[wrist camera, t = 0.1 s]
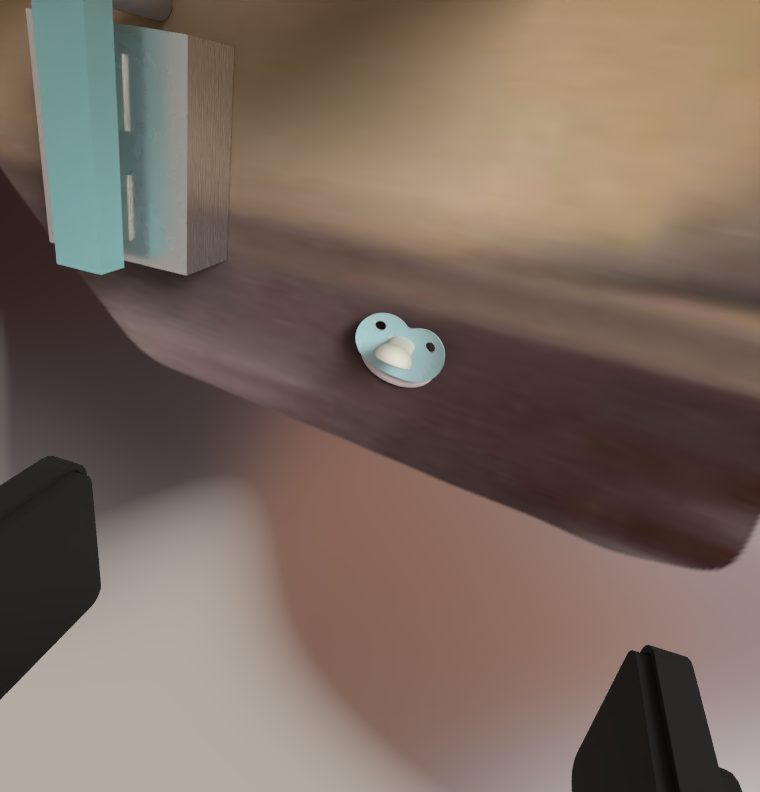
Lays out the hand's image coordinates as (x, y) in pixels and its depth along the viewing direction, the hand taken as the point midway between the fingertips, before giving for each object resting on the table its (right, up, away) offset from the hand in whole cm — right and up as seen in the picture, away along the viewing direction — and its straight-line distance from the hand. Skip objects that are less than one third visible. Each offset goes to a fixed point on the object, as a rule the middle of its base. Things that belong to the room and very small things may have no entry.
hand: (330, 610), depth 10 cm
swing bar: (-16, +25, +35) cm, 46 cm away
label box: (-16, +23, +36) cm, 46 cm away
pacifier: (+3, +8, +38) cm, 39 cm away
